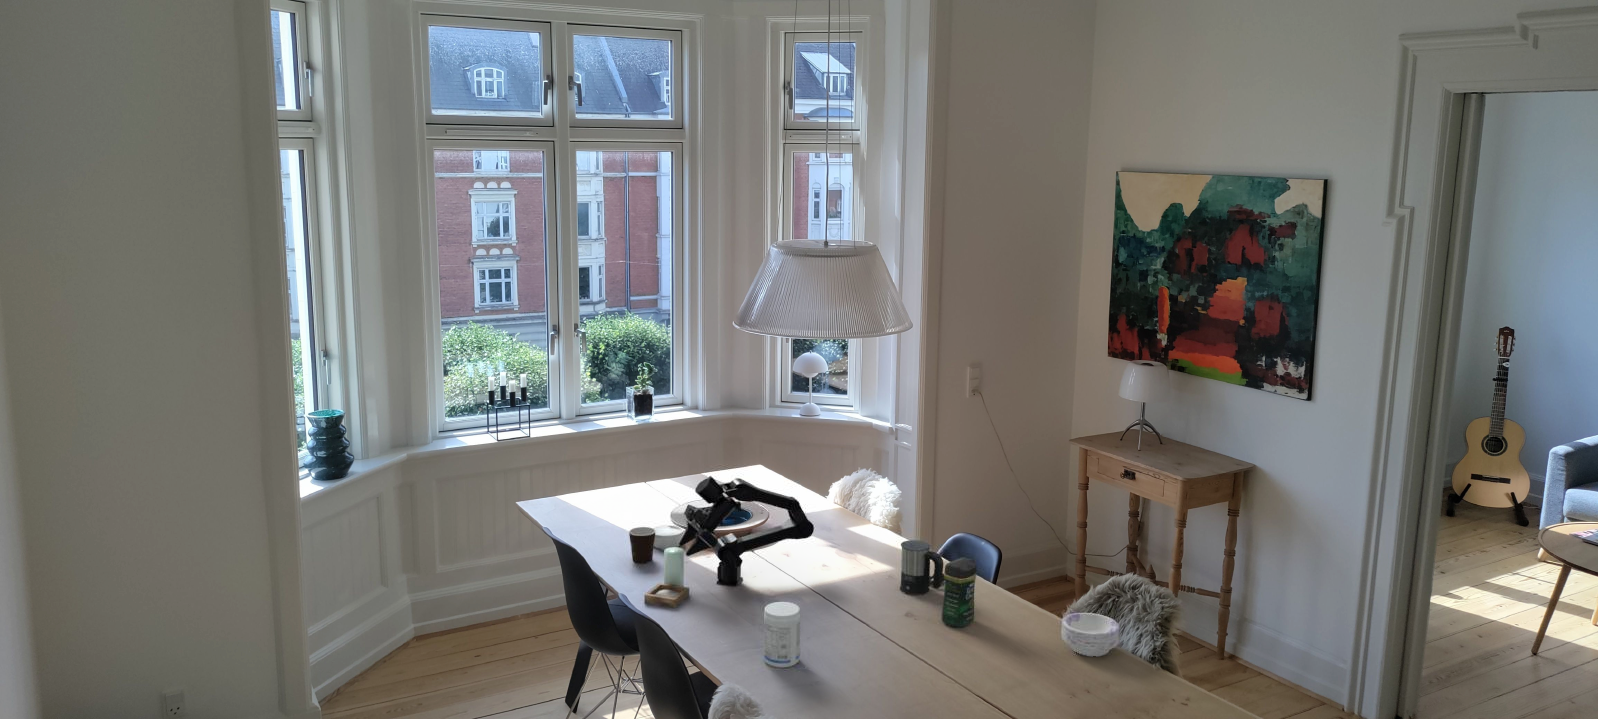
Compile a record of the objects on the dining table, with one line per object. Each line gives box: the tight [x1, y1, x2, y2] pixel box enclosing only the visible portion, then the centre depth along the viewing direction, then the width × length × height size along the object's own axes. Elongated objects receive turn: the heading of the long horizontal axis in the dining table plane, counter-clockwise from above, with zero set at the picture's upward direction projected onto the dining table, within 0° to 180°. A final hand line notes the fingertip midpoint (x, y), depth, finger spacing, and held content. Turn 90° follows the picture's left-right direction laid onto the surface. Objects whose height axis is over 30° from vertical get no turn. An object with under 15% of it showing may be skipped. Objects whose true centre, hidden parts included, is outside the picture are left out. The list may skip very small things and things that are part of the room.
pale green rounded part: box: [663, 546, 685, 587], centre depth 333 cm, size 6×6×12 cm
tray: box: [643, 582, 690, 609], centre depth 324 cm, size 10×10×3 cm
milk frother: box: [899, 539, 945, 596], centre depth 337 cm, size 14×16×15 cm
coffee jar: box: [941, 556, 978, 628], centre depth 311 cm, size 10×8×19 cm
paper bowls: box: [1060, 612, 1121, 657], centre depth 295 cm, size 15×15×8 cm
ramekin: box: [652, 524, 684, 550], centre depth 371 cm, size 11×11×5 cm
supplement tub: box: [763, 601, 801, 668], centre depth 284 cm, size 10×10×15 cm
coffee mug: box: [628, 526, 655, 565], centre depth 357 cm, size 12×9×10 cm
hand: (683, 550), depth 333 cm, fingers open, 9 cm apart
